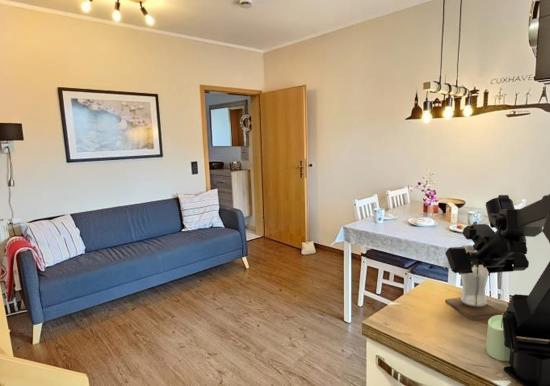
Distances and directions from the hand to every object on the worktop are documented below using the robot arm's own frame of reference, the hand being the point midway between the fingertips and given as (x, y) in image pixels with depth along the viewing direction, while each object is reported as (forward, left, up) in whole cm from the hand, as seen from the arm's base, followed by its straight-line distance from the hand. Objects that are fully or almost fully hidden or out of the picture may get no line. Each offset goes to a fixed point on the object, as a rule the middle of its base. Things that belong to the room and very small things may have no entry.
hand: (471, 272), depth 94 cm
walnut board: (-1, 0, -10) cm, 10 cm away
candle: (-20, +9, -10) cm, 24 cm away
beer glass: (-1, 0, -8) cm, 8 cm away
